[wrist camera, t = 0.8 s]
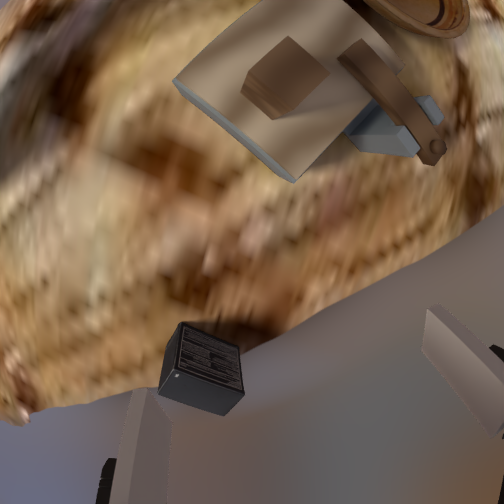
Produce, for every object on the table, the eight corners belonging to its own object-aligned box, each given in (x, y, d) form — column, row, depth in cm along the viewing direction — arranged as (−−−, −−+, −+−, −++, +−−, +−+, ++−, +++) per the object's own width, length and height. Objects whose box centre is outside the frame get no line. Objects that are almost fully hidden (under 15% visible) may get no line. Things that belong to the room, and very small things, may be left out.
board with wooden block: (177, 80, 23) (158, 51, 15) (303, -24, 19) (330, -66, 11) (293, 178, 28) (326, 192, 19) (399, 66, 24) (451, 51, 16)
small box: (163, 348, 43) (154, 395, 33) (180, 320, 41) (172, 367, 32) (221, 371, 46) (223, 419, 36) (240, 346, 44) (247, 394, 35)
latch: (336, 58, 22) (349, 49, 19) (353, 43, 22) (367, 34, 19) (423, 164, 27) (441, 167, 24) (436, 147, 26) (454, 149, 23)
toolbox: (181, 95, 31) (164, 71, 19) (287, 0, 27) (312, -44, 16) (310, 206, 37) (347, 232, 26) (398, 109, 34) (453, 104, 22)
